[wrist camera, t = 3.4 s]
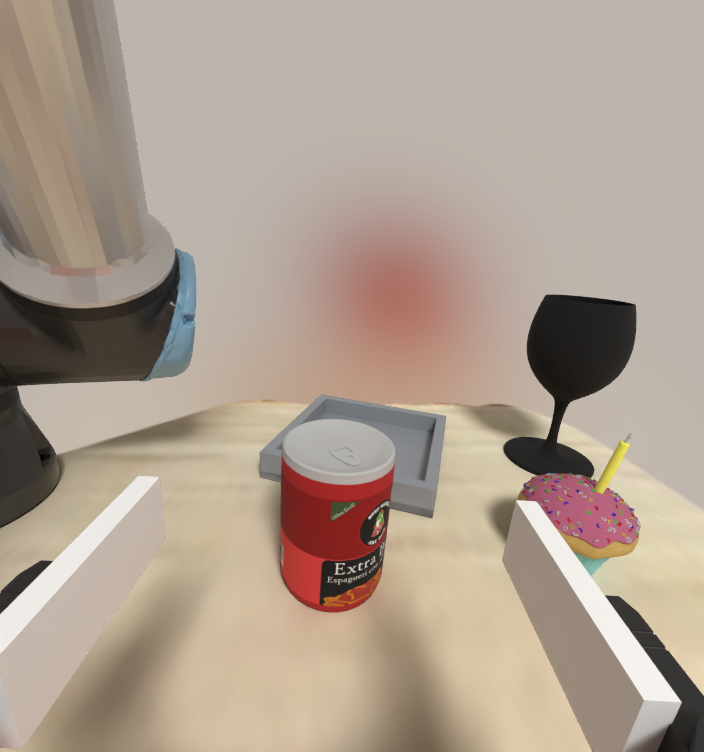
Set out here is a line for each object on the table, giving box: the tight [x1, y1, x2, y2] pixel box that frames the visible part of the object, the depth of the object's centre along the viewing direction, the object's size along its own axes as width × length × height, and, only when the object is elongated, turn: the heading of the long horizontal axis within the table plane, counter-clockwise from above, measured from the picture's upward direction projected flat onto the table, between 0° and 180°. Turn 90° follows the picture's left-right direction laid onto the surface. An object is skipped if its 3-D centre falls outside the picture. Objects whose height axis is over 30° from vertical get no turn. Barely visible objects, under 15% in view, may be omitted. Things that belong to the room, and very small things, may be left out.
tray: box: [260, 395, 446, 518], centre depth 46 cm, size 18×18×3 cm
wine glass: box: [504, 295, 636, 478], centre depth 45 cm, size 10×10×20 cm
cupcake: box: [517, 434, 640, 575], centre depth 31 cm, size 9×8×12 cm
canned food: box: [280, 419, 395, 612], centre depth 28 cm, size 8×8×11 cm
